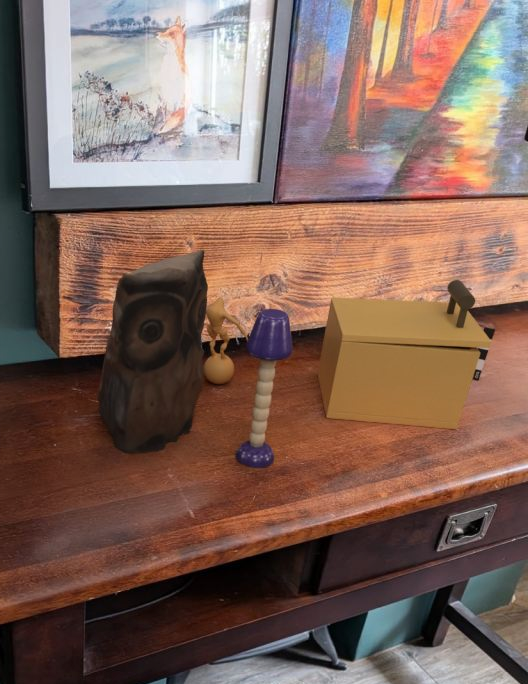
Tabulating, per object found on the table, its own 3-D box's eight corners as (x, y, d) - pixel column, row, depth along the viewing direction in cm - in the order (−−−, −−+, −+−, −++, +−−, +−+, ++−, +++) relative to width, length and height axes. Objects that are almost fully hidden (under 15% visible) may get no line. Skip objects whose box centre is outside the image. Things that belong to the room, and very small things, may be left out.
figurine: (252, 385, 99) (263, 296, 92) (232, 401, 95) (243, 309, 88) (196, 370, 102) (204, 283, 96) (175, 385, 98) (182, 295, 91)
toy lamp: (277, 471, 80) (302, 321, 71) (234, 469, 80) (253, 319, 71) (270, 449, 84) (293, 305, 75) (229, 448, 84) (247, 303, 75)
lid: (460, 308, 96) (469, 271, 93) (489, 348, 85) (501, 306, 82) (330, 303, 98) (335, 266, 95) (341, 341, 86) (348, 300, 84)
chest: (433, 383, 102) (453, 313, 97) (456, 429, 91) (480, 352, 85) (317, 374, 103) (330, 303, 98) (326, 418, 92) (341, 341, 86)
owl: (199, 409, 92) (215, 243, 81) (208, 460, 82) (227, 278, 71) (97, 406, 92) (99, 238, 81) (93, 457, 81) (94, 272, 70)
